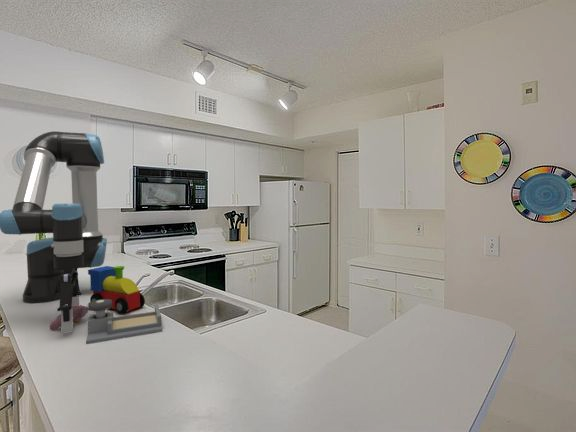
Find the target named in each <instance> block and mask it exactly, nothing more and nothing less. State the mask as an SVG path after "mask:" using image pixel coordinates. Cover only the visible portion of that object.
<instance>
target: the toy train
mask: <svg viewBox="0 0 576 432" xmlns="http://www.w3.org/2000/svg"><path fill="white" fill-rule="evenodd" d="M124 269H125V266H124V265H116V266H110V265H106V266H105V265H104V266H98V267H93V268H90V269H87V274H88V275H89V276H90V278H89V279H90V291H92V294H91V296H90V300H89V302H91V301H95V300H100V299H110V300H112V307H111V308H110V309H112V310H116V312H117V313H118V314H120V315H124V314H127V313H128V312H129V311H133V310H135V309H141V308H143V307H144V306H145V303H146V301H145V300H146V299H145V297H144V295H143V293H141V290H139V288H138V285H137V284H136V282H135V281H133V280H132V279H130V278H127V277H123V276H124V275H123V273H124Z"/></svg>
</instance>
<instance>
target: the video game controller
mask: <svg viewBox="0 0 576 432" xmlns="http://www.w3.org/2000/svg"><path fill="white" fill-rule="evenodd" d="M72 308H73V324H76V325H77V324H78V323H79V322H80V321H81V320H82V319H83V318H84V317H85V316H86V315H87V314H88V312H89V310H88V306H85V305H82V304H79V306H73V307H72ZM49 328H50V331H51V330H52V331H55V330H59V328H61V313H60V314H59V315H58V316H57V317H56V318H55V319H54V320H52V321H51V322H50V324H49Z"/></svg>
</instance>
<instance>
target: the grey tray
mask: <svg viewBox="0 0 576 432" xmlns="http://www.w3.org/2000/svg"><path fill="white" fill-rule="evenodd" d="M160 311H161V309H160V307H159V304H155V305H154V311H147V312H141V313H135V314H134V313H133V314H128V315H127V314H126V315H121V316H120V315H119V316H114V310H109V311H105V317H103V318H96V313H90V314H89V316H88V318H87V336H86V340H85V344H86V345H88V344H95V343H100V342H107V341H113V340H117V338H119V339H124V338H123V337H125V338H131V337H136V336H141V335H142V336H143V335H148V334H155V333H161V332H163V327H162V314H161V312H160ZM112 339H113V340H112Z"/></svg>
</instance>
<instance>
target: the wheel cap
mask: <svg viewBox="0 0 576 432" xmlns="http://www.w3.org/2000/svg"><path fill="white" fill-rule="evenodd" d="M87 305H88V306H87V308H88V311H90V312H95V314H96V318H103V317H105V312H106V310H108V309H111V307H112V300H110V299H100V300H95V301H91V302H90V301H89V302H88V303H87Z"/></svg>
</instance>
